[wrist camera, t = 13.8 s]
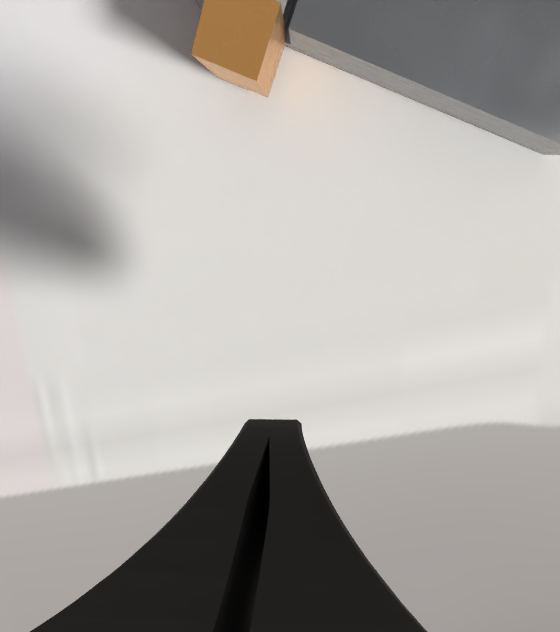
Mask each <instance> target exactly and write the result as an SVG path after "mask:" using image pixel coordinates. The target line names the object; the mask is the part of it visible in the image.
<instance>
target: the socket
mask: <svg viewBox="0 0 560 632" xmlns="http://www.w3.org/2000/svg"><path fill="white" fill-rule="evenodd" d="M195 1H196V2H197V4H198V5H199V7H200V8H201V9H202V7H203V3H204V0H195ZM285 32H286V39H287V40H286V43H285V46H287V47H289V48H292V49H294V50H296V51H299V52H301V53H304V54H306V55H308V56H311V57H313V58H316V59H318V60H320V61H323V62H325V63H327V64H330V65H332V66H335V67H337V68H339V69H342V70H344V71H346V72H349V73H351V74H354V75H356V76H358V77H361V78H363V79H365V80H368V81H370V82H373V83H375V84H377V85H380V86H382V87H384V88H387V89H389V90H392V91H394V92H396V93H399V94H401V95H403V96H406V97H408V98H411V99H413V100H415V101H418V102H420V103H422V104H425V105H427V106H430V107H432V108H434V109H437V110H439V111H441V112H444V113H446V114H449V115H451V116H453V117H456V118H458V119H461V120H463V121H465V122H468V123H470V124H472V125H475V126H477V127H480V128H482V129H484V130H487V131H489V132H491V133H494V134H496V135H499V136H501V137H503V138H506V139H508V140H510V141H513V142H515V143H518V144H520V145H522V146H525V147H527V148H529V149H532V150H534V151H537V152H539V153H541V154H544V155H560V0H294V2H293V5H292V8H291V11H290V15H289V18H288V21H287V24H286V27H285Z"/></svg>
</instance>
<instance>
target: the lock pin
mask: <svg viewBox="0 0 560 632" xmlns="http://www.w3.org/2000/svg"><path fill="white" fill-rule="evenodd" d="M293 2H294V0H204V3H203V7H202V11H201V15H200V19H199V23H198V27H197V31H196V35H195V39H194V43H193V47H192V52H191V55H192V56H194V57H195V58H196V59H197V60H198V61H199V62H201V63H202V64H203V65H204V66H205V67H206V68H208V69H209V70H210V71H211V72H212V73H213V74H215V75H216V76H217V77H219V78H221V79H224V80H226V81H228V82H231V83H233V84H236V85H238V86H241V87H243V88H246V89H248V90H250V91H253V92H255V93H258V94H260V95H263V96H265V97H268V96H269V93H270V90H271V86H272V83H273V80H274V77H275V74H276V71H277V68H278V65H279V61H280V58H281V55H282V52H283V49H284V46H285V43H286V40H287V39H286V32H285V27H286V24H287V21H288V18H289V15H290V11H291V8H292V5H293Z"/></svg>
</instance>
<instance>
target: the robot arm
mask: <svg viewBox="0 0 560 632" xmlns="http://www.w3.org/2000/svg"><path fill="white" fill-rule="evenodd" d="M30 632H427V631H426V630H425V629H424V628H423V627H422V626H421V624H420V623H419V622H418V621H417V620H416V619H415V618H414V616H413V615H412V614H411V613H410V612H409V611H408V610H407V609H406V607H405V606H404V605H403V604H402V603H401V602H400V600H399V599H398V598H397V597H396V595H395V594H394V593H393V591H392V590H391V589H390V588H389V586H388V585H387V584H386V583H385V581H384V580H383V579H382V577H381V576H380V575H379V574H378V573H377V571H376V570H375V569H374V567H373V566H372V565H371V564H370V562H369V561H368V559H367V558H366V557H365V555H364V554H363V552H362V551H361V550H360V548H359V547H358V545H357V544H356V542H355V541H354V539H353V538H352V536H351V535H350V533H349V531H348V530H347V528H346V527H345V525H344V524H343V522H342V520H341V519H340V517H339V515H338V513H337V512H336V510H335V508H334V507H333V505H332V503H331V501H330V499H329V497H328V496H327V493H326V492H325V490H324V488H323V486H322V484H321V481H320V479H319V477H318V475H317V472H316V470H315V468H314V466H313V464H312V461H311V458H310V456H309V453H308V450H307V447H306V444H305V441H304V437H303V433H302V426H301V423H300V422H299V421H298V420H266V419H249V420H248V421H247V422H246V423H245V424H244V426H243V428H242V429H241V431H240V433H239V434H238V436H237V437H236V439H235V440H234V442H233V443H232V445H231V446H230V448H229V449H228V451H227V452H226V454H225V455H224V456H223V458H222V459H221V460H220V462H219V463H218V464H217V466H216V467H215V469H214V470H213V471H212V473H211V474H210V475H209V476H208V478H207V479H206V480H205V481H204V482H203V484H202V485H201V486H200V487H199V489H198V490H197V491H196V492H195V493H194V494H193V496H192V497H191V498H190V499H189V500H188V501H187V503H186V504H185V505H184V506H183V507H182V508H181V509H180V510H179V511H178V512H177V514H175V515H174V517H173V518H172V519H171V520H170V521H169V522H168V523H167V524H166V525H165V526H164V527H163V528H162V529H161V530H160V531H159V532H158V533H157V534H156V535H155V536H153V537H152V538H151V539H150V540H149V541H148V542H147V543H146V544H145V545H144V546H142V547H141V548H140V549H139V550H138V551H137V552H136V553H135V554H134V555H133V556H131V557H130V558H129V559H128V560H127V561H126V562H125V563H123V564H122V565H121V566H120V567H119V568H117V569H116V570H115V571H114V572H112V573H111V574H110V575H109V576H107V577H106V578H105V579H103V580H102V581H101V582H99V583H98V584H97V585H96V586H94V587H93V588H92V589H91V590H89V591H88V592H86V593H85V594H84V595H83V596H81V597H80V598H79V599H78V600H76V601H75V602H73V603H72V604H70V605H69V606H68V607H66V608H65V609H63V610H62V611H61V612H59V613H58V614H56V615H55V616H54V617H52V618H50V619H49V620H47V621H46V622H44V623H43V624H41V625H40V626H38V627H37V628H35V629H34V630H32V631H30Z"/></svg>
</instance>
